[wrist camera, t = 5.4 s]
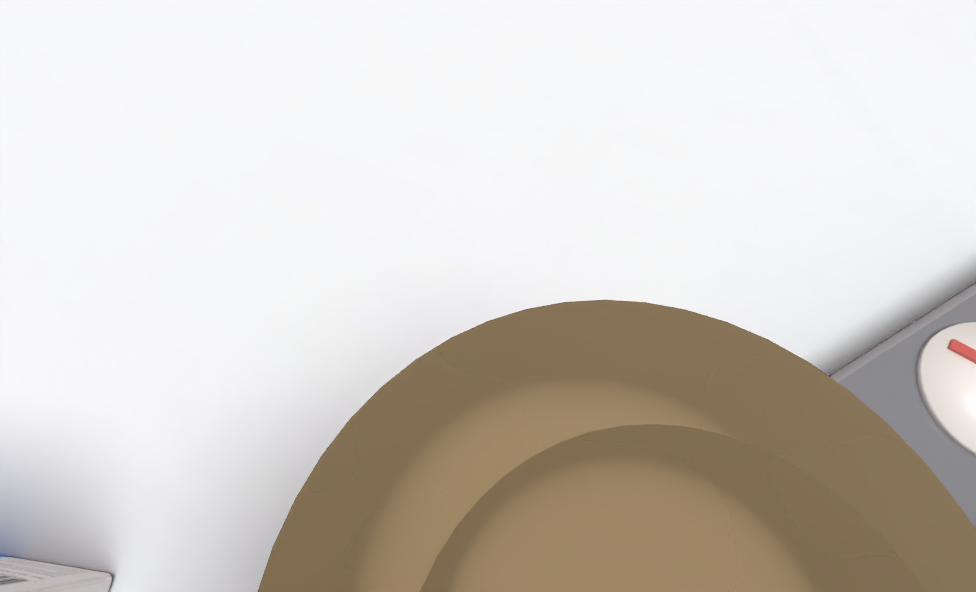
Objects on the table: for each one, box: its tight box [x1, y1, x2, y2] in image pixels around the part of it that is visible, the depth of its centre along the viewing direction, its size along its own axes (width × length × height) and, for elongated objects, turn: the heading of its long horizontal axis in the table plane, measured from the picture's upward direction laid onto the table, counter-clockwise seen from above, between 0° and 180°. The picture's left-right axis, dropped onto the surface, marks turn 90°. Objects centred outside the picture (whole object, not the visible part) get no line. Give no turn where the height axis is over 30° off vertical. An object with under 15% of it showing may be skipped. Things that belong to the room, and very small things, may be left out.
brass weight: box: [258, 300, 976, 592], centre depth 8 cm, size 5×5×13 cm
